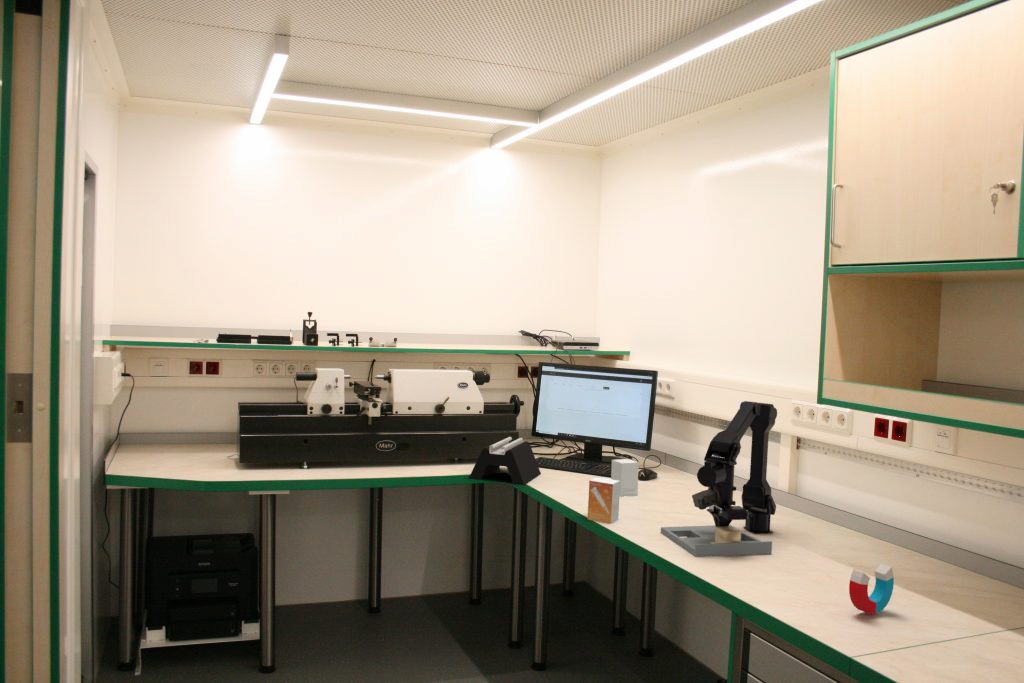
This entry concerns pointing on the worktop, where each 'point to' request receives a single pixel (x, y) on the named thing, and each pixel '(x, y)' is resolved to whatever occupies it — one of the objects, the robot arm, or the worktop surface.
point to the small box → (603, 500)
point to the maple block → (727, 535)
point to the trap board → (706, 546)
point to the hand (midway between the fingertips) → (720, 536)
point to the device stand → (507, 461)
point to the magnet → (879, 594)
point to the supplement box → (626, 476)
